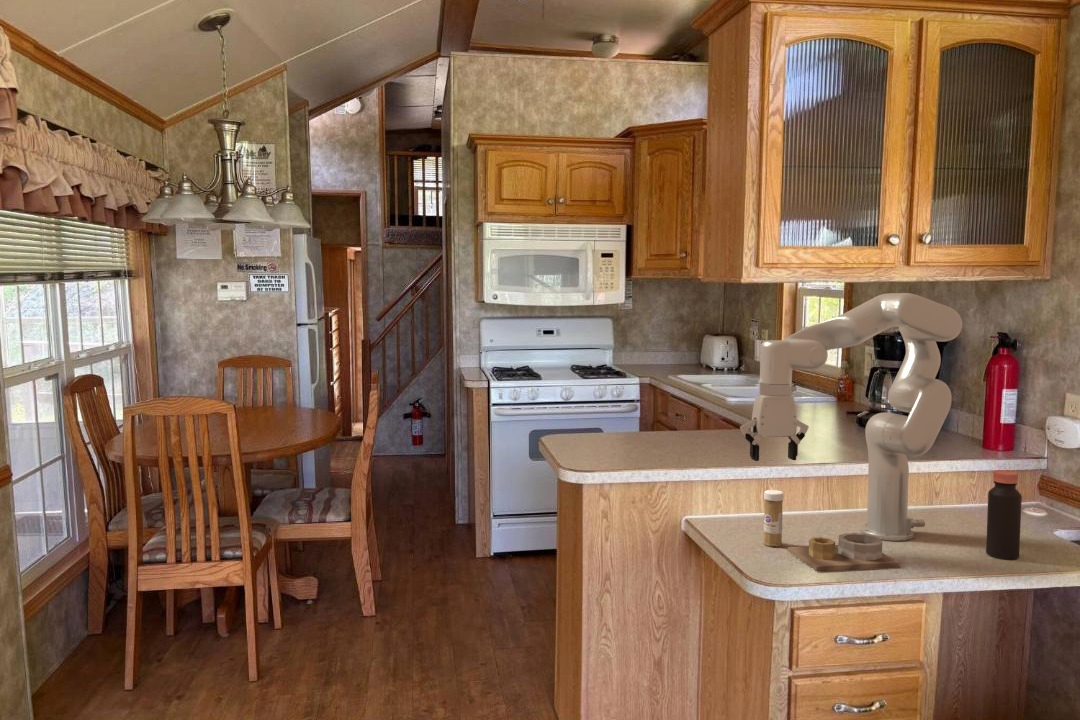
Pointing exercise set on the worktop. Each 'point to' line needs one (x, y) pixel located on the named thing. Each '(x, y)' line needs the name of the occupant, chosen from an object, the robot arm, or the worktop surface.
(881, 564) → the fitting board
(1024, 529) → the worktop surface
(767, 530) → the sprinkles bottle
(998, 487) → the brown bottle
